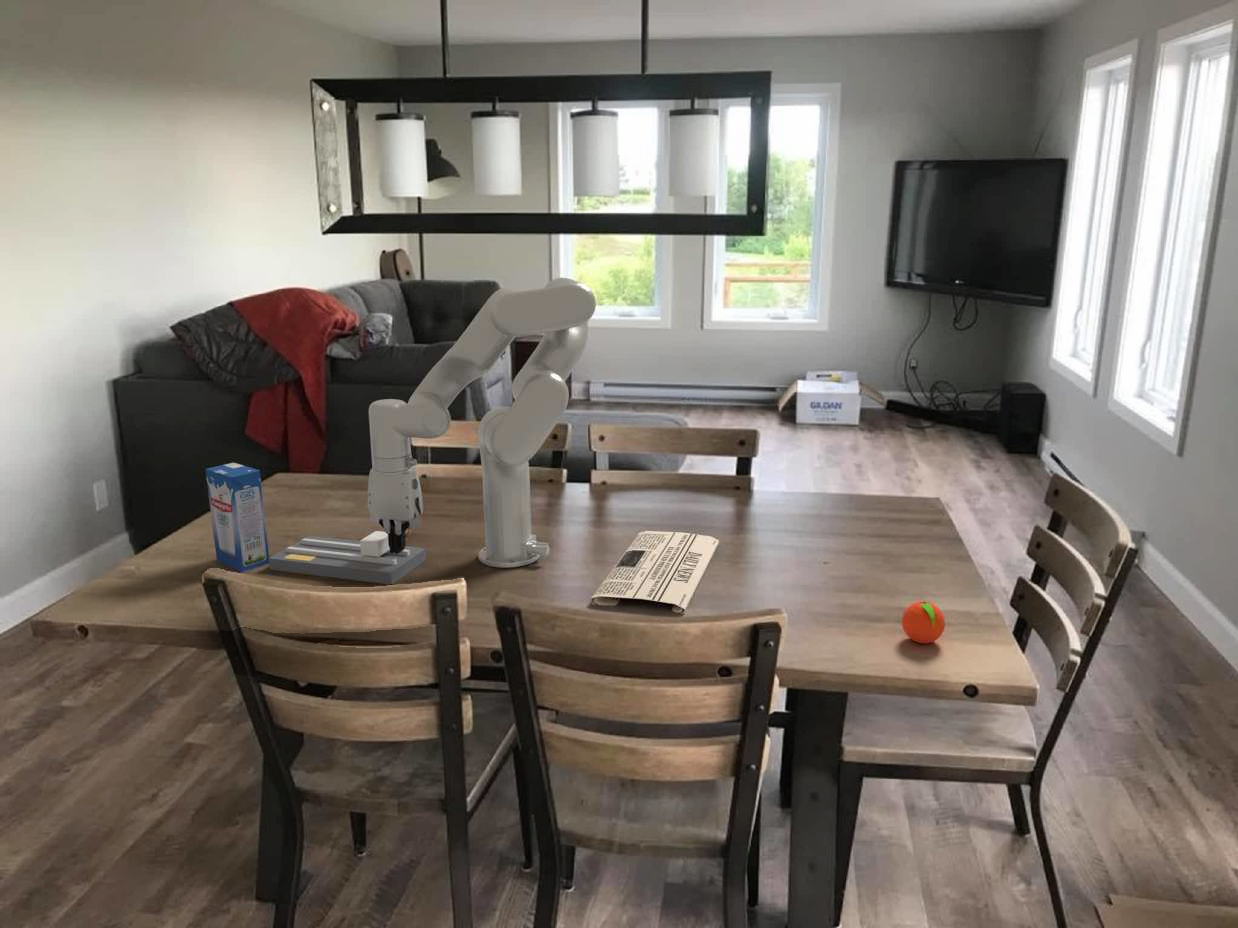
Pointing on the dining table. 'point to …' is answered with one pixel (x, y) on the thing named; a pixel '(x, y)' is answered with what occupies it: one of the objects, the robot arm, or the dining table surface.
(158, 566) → the dining table surface
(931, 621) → the clementine
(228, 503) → the milk carton
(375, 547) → the fader knob
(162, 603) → the dining table surface
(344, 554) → the fader console
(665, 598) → the newspaper
